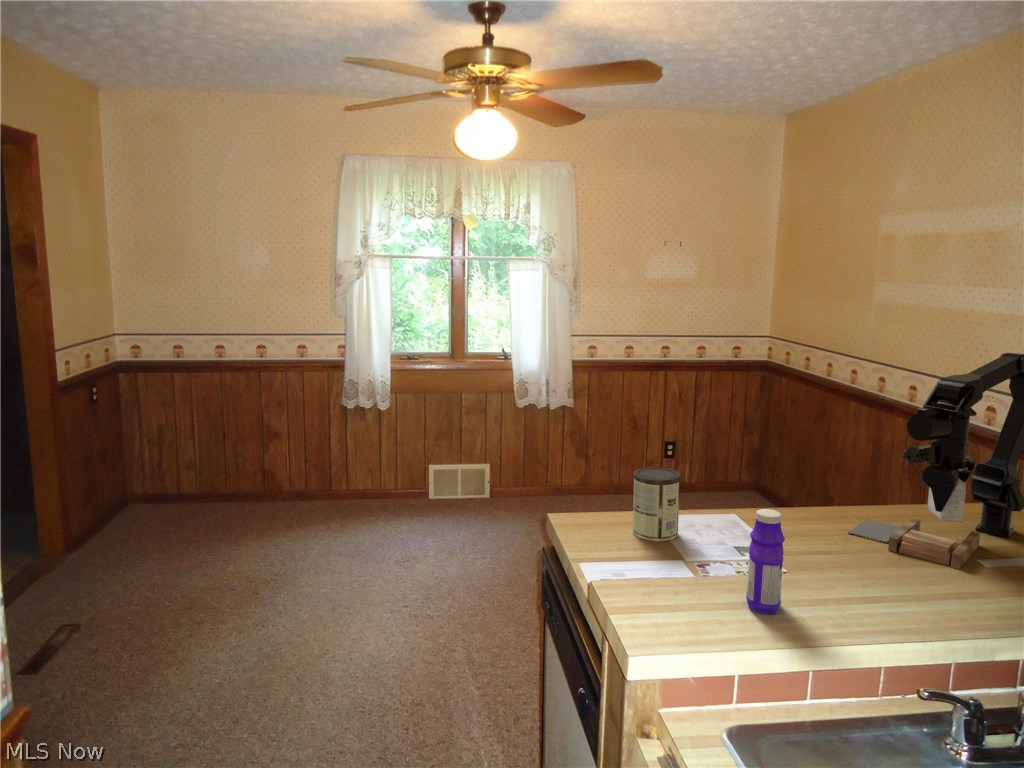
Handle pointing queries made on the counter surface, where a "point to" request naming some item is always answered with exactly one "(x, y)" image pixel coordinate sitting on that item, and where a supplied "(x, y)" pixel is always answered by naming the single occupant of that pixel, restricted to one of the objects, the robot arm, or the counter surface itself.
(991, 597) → the counter surface
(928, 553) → the offcut stack
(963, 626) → the counter surface
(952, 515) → the medicine box
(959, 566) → the rack
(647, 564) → the counter surface
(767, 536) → the bottle
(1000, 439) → the robot arm
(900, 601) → the counter surface
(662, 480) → the coffee can
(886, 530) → the mat
